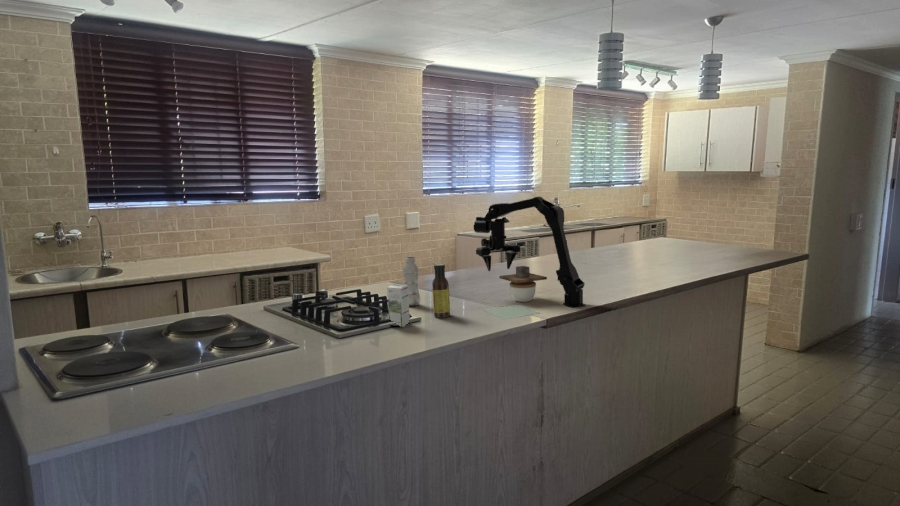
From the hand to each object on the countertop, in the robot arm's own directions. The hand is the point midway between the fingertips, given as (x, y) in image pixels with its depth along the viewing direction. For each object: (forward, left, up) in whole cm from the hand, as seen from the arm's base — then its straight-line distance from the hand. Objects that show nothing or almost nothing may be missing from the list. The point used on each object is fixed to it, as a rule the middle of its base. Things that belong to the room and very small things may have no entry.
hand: (498, 270), depth 245 cm
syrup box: (+52, +19, -12) cm, 57 cm away
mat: (+9, +25, -12) cm, 29 cm away
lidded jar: (-5, +11, -12) cm, 17 cm away
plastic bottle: (+37, -7, -12) cm, 40 cm away
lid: (-5, +11, -3) cm, 12 cm away
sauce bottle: (+34, +16, -12) cm, 40 cm away
